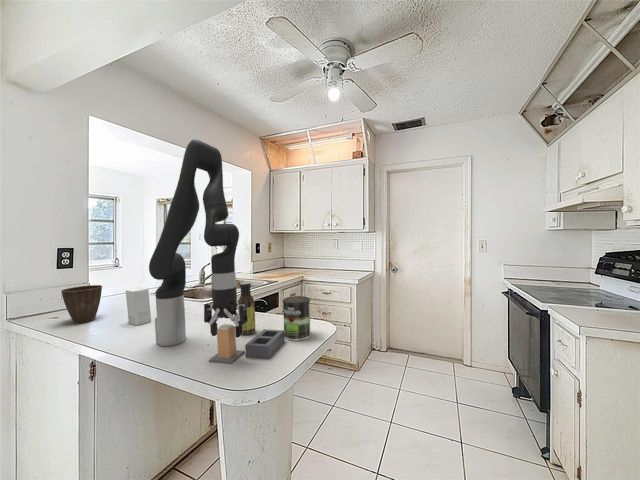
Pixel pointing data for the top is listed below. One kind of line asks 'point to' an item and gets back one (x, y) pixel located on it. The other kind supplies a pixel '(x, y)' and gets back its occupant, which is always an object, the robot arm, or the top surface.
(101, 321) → the top surface
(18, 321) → the top surface
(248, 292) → the sauce bottle
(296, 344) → the top surface
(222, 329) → the plug
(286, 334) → the coffee can
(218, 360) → the mat
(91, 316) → the plant pot
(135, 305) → the skincare box
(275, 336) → the grey block holder
